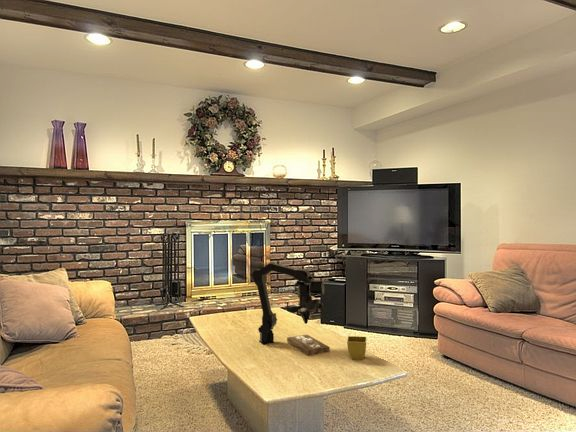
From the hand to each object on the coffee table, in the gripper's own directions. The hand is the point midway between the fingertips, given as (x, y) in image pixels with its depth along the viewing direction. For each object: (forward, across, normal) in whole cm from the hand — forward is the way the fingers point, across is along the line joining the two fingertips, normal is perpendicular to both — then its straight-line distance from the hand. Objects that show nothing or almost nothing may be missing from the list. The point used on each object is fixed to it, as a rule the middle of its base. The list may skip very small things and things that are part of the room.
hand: (305, 323), depth 217 cm
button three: (+11, -1, -11) cm, 15 cm away
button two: (+10, -1, -2) cm, 10 cm away
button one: (+11, 0, +6) cm, 13 cm away
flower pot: (+12, +12, -29) cm, 34 cm away
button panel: (+11, -1, -2) cm, 12 cm away
